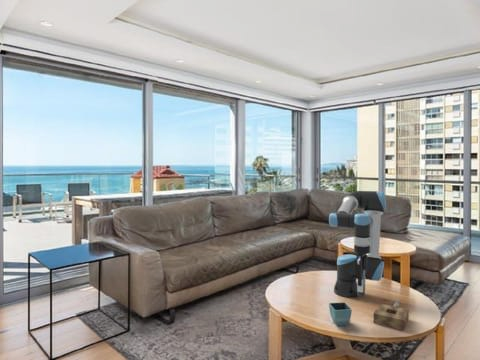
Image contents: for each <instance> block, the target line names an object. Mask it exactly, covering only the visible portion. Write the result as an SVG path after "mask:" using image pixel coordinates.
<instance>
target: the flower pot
mask: <svg viewBox="0 0 480 360" xmlns="http://www.w3.org/2000/svg"><path fill="white" fill-rule="evenodd" d="M328 305H329V306H328V307H329V314H330V317H331V319H332V321H333V322H334V324H335V325H336V327H338V326H339V327H340V326H347V325H348V324H349V323H350V321H351V317H352V310H353V309H352V308H351V307H350V306H349V304H348V303H346V302H345V301H344V302H341V301H340V302H329V303H328Z"/></svg>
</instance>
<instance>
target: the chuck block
mask: <svg viewBox="0 0 480 360" xmlns="http://www.w3.org/2000/svg"><path fill="white" fill-rule="evenodd" d="M400 302H401V301H399V300H395V302H394V304H393V305H389V304H385V303H382V302H381V303H379V304H378V306H377V307H376V308H375V310H374V312H373V324H377V325H380V326H384V327H389V328H393V329H396V330H400V331H403V330H404V329H405V330H406V326H407V324H408V321H409V316H410V314H409V312H410V311H409V309H407V308H402V307H400V305H401V303H400ZM405 330H404V331H405Z"/></svg>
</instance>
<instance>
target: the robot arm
mask: <svg viewBox="0 0 480 360" xmlns="http://www.w3.org/2000/svg"><path fill="white" fill-rule="evenodd" d="M341 202H342V203H341V205H340V207H339V209H338V210H337V211H336V212H331V213H330V214H329V217H328V223H329V226H330V227H333V228H344V229H354V231H353V232H354V235H353V244H354V245H353V252H354V253H356V254H357V255H356V254H352V253H351V254H342V255H339V256H338V257H337V261H336V281H335V284H334V287H333V292H334V293H335V295H338V296H340V297H345V298H356V297H359V296H358V292H363V269H364V270H365V280H368V281H374V282H375V281H376V282H379V281H381V279H382V277H383V273H384V267H385V262H384V261H382V257H381V256H380V242H381V241H380V240H381V220H382V216H383V215H384V214H385V211H387V200H386V195H385V192H383V191H378V190H375V191H373V190H356V191H353V192H350V193H348V194H346V195H345V196H344V197H343V199H342V201H341ZM354 210H363V213H356V214H353V213H354Z"/></svg>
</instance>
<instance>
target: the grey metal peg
mask: <svg viewBox="0 0 480 360" xmlns="http://www.w3.org/2000/svg"><path fill="white" fill-rule="evenodd" d="M365 294H366V279H365V270H364V269H363V292H358V296H357V297H360V298H362V297H366V295H365Z"/></svg>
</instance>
